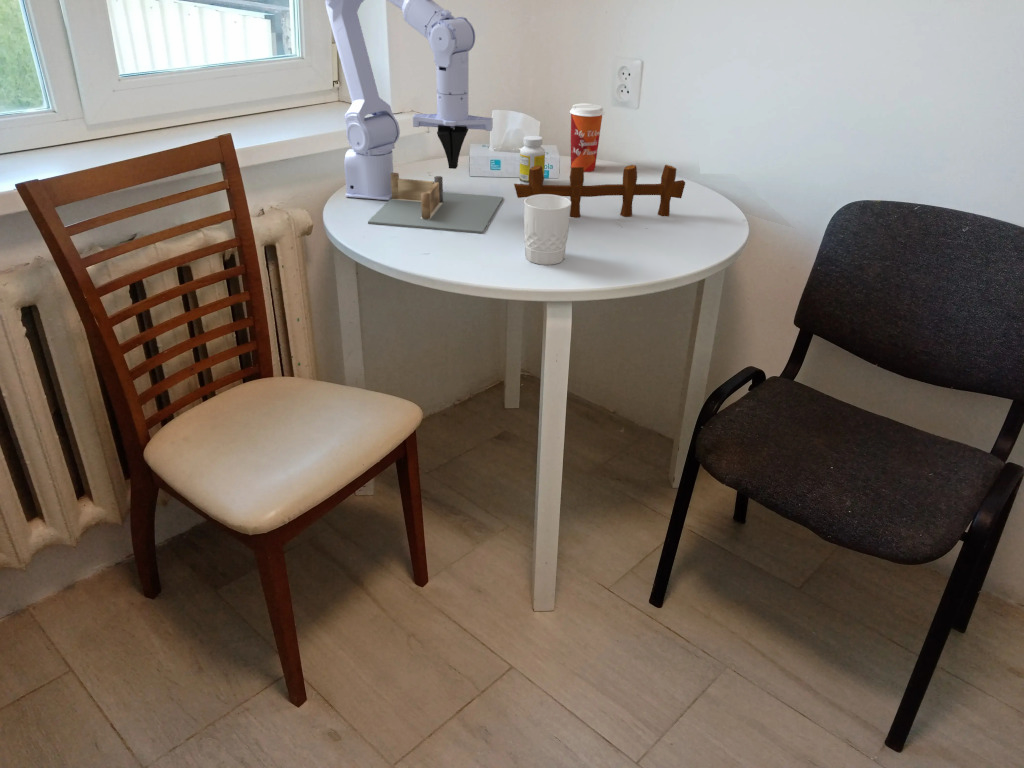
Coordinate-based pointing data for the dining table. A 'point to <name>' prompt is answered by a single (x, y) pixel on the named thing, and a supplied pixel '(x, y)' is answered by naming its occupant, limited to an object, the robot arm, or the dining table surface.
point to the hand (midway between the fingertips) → (453, 167)
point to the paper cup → (585, 135)
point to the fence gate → (429, 200)
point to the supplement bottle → (531, 157)
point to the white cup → (546, 228)
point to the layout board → (441, 213)
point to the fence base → (413, 187)
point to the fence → (606, 188)
